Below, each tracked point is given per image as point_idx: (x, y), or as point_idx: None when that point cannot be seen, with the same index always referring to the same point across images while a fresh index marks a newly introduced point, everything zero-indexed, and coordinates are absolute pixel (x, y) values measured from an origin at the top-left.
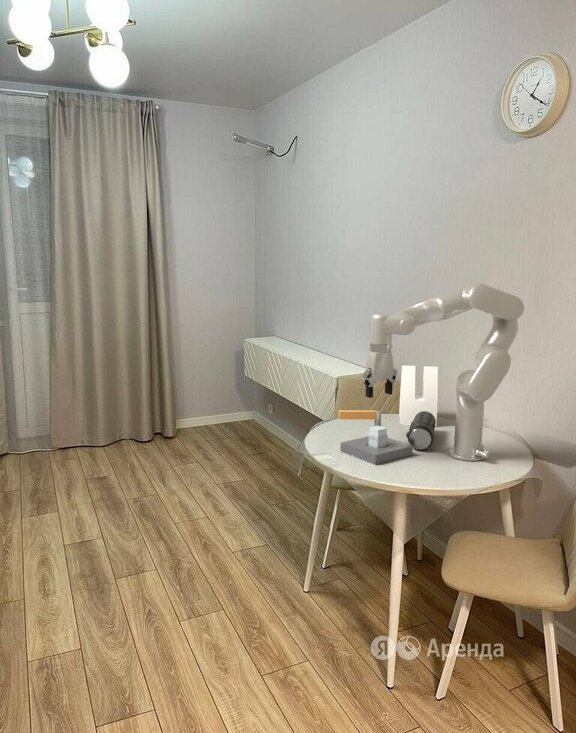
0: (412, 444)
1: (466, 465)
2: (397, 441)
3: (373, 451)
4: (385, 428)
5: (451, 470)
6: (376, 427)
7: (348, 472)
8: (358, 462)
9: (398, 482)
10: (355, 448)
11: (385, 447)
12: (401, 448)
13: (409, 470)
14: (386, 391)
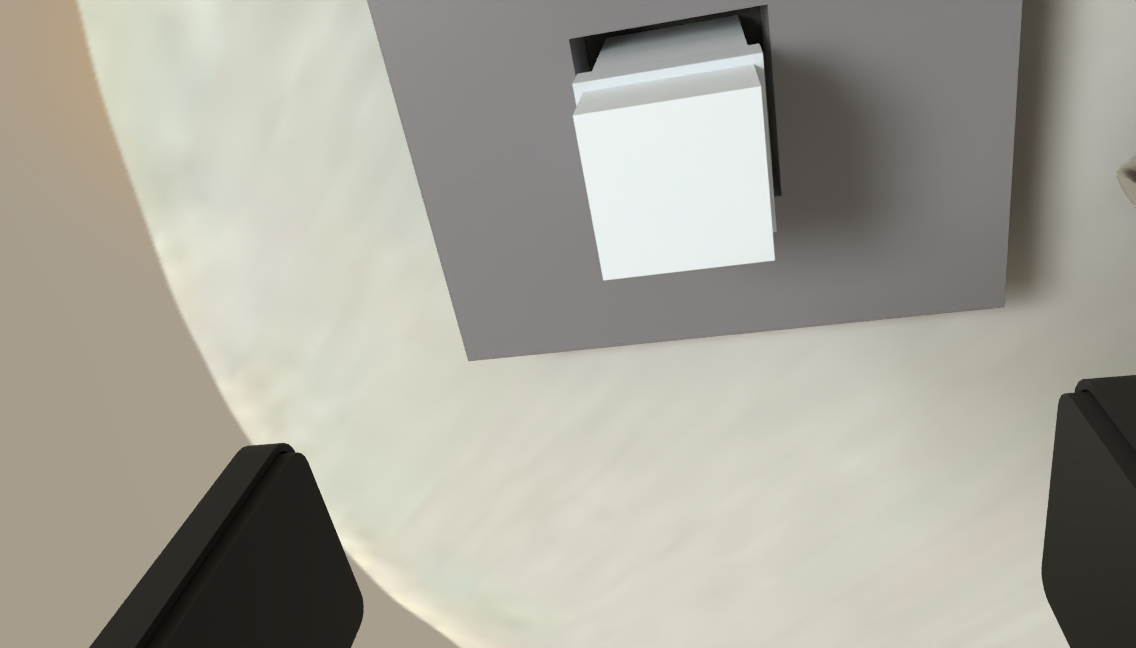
0: (1125, 189)
1: None
2: (998, 106)
3: (510, 274)
4: (754, 254)
5: (926, 618)
6: (672, 159)
7: (218, 352)
8: (387, 208)
9: (452, 600)
10: (396, 101)
11: None
12: (827, 321)
13: (657, 502)
14: (1083, 488)
